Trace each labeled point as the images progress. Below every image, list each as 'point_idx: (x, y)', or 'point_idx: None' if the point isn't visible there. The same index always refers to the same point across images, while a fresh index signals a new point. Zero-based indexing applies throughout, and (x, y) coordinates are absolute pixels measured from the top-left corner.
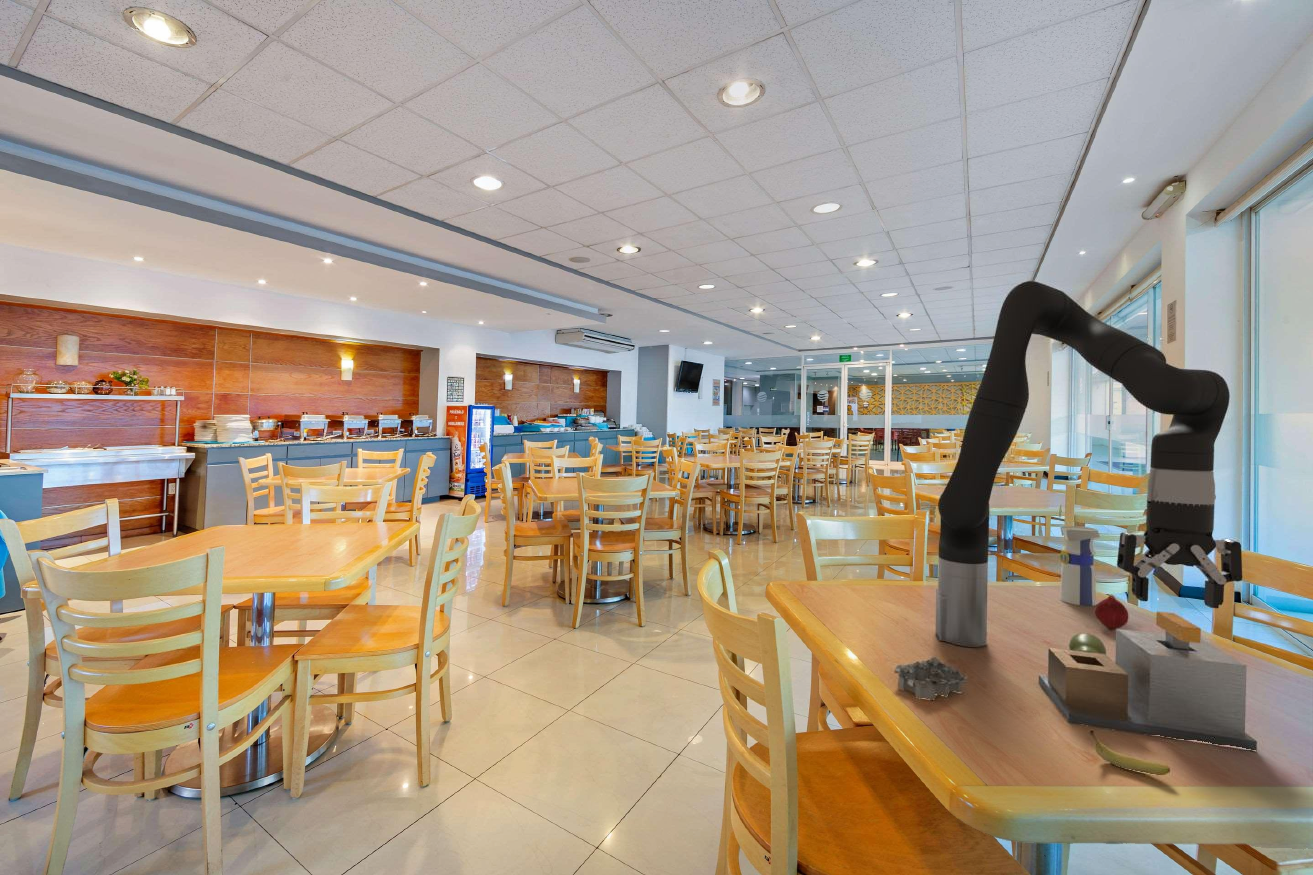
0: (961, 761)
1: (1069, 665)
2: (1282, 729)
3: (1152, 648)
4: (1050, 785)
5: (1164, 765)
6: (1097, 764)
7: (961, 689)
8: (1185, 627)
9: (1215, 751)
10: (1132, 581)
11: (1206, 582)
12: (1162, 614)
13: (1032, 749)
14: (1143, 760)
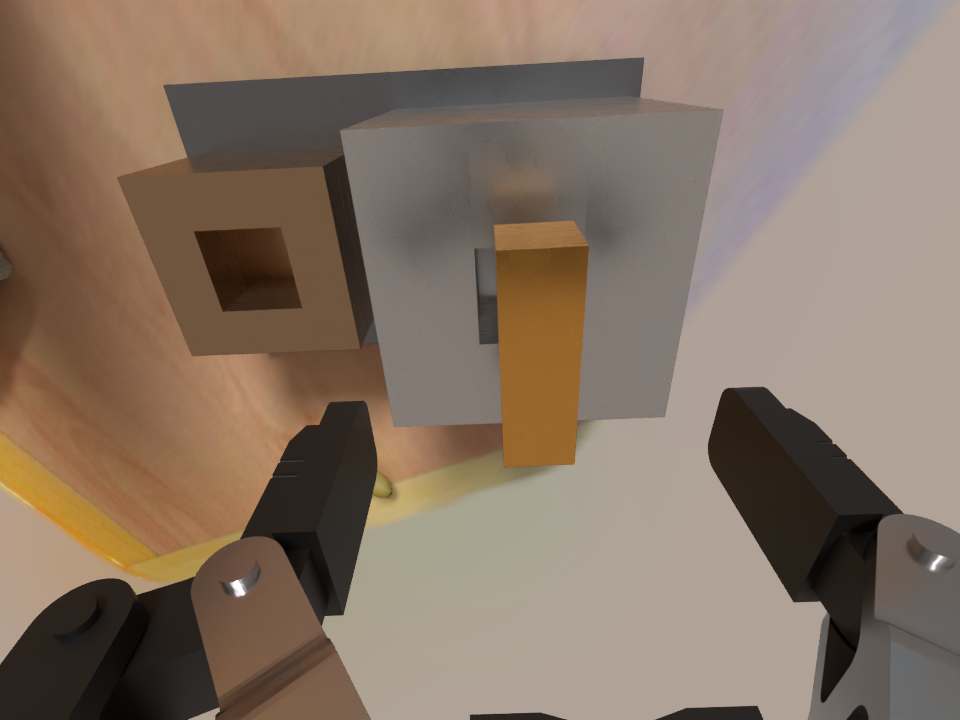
0: (113, 522)
1: (201, 341)
2: (773, 162)
3: (420, 368)
4: (233, 532)
5: (384, 493)
6: None
7: (2, 273)
8: (517, 463)
9: None
10: (263, 505)
11: (821, 519)
12: (502, 306)
13: (203, 458)
14: None
